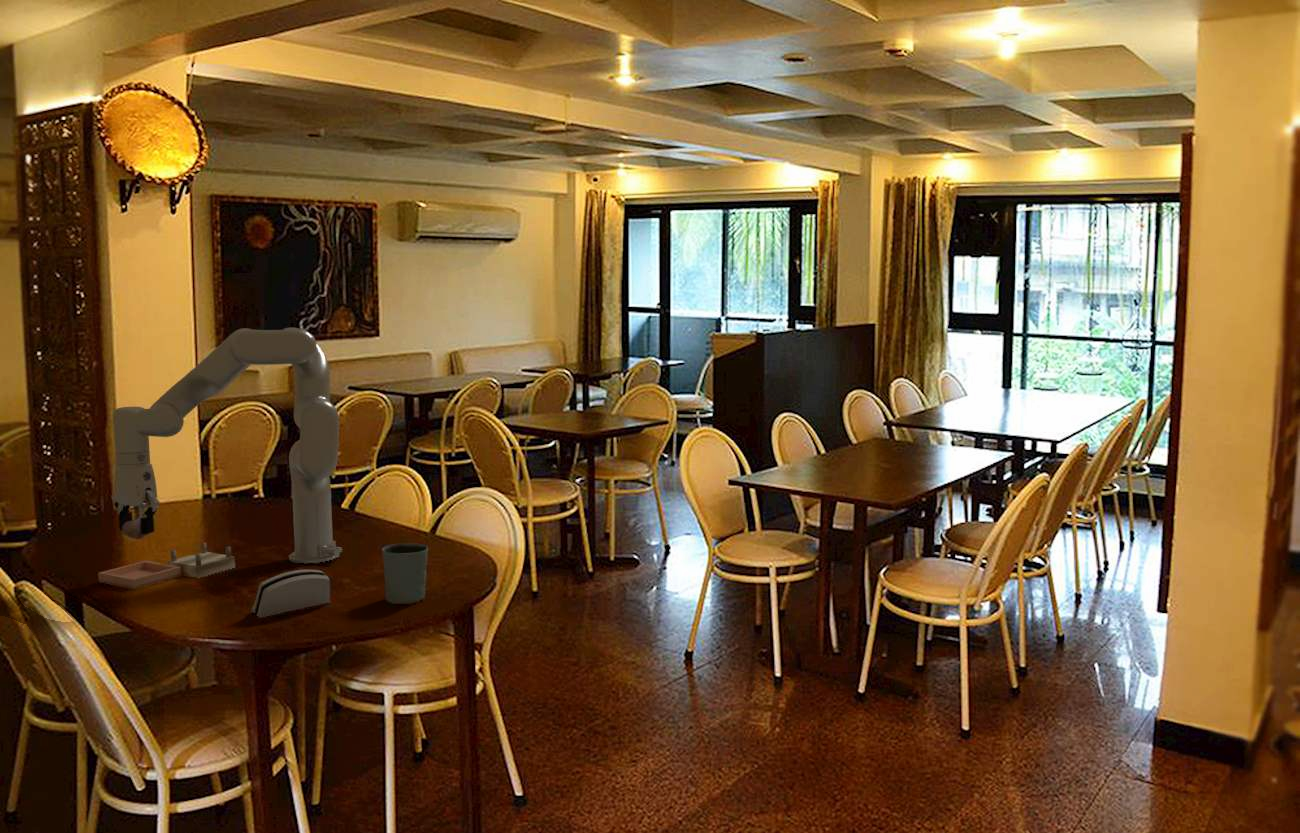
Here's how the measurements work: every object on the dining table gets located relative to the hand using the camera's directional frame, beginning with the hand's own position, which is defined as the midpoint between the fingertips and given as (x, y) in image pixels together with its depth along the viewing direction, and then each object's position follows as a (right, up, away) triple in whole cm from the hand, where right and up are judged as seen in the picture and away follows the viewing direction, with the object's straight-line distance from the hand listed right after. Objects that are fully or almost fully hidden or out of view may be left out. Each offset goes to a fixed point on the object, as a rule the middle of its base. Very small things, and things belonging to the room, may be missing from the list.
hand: (136, 530), depth 268 cm
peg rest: (+12, -11, +10) cm, 19 cm away
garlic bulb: (0, -2, 0) cm, 2 cm away
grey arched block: (+45, -15, -23) cm, 53 cm away
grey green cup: (+68, -14, -15) cm, 71 cm away
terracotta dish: (0, -12, +2) cm, 12 cm away
